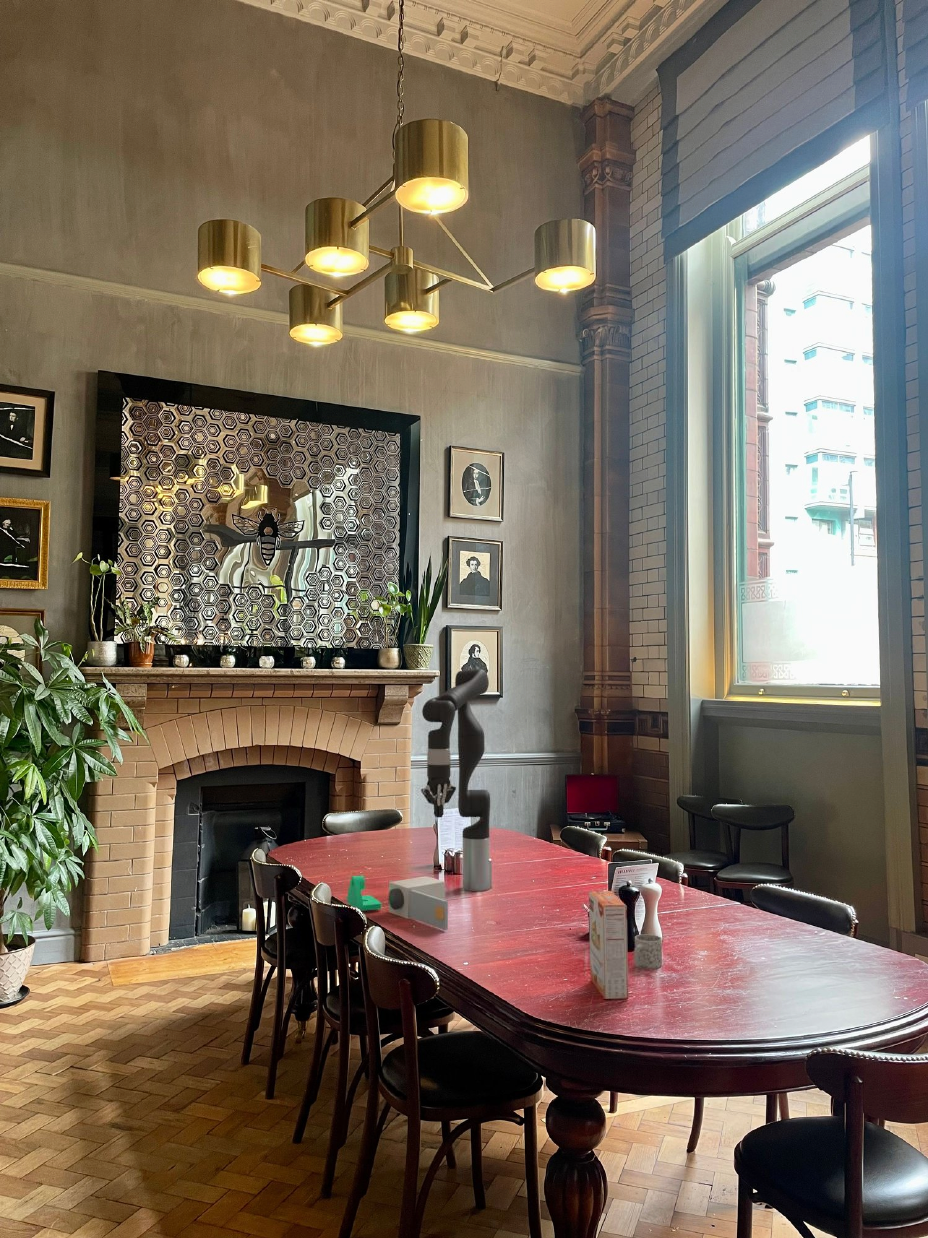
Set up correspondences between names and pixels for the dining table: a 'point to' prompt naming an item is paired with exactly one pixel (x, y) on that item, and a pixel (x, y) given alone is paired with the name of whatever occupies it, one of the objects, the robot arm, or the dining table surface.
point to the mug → (648, 951)
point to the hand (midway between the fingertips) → (438, 817)
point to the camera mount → (360, 895)
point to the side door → (428, 909)
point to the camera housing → (420, 884)
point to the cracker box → (608, 944)
